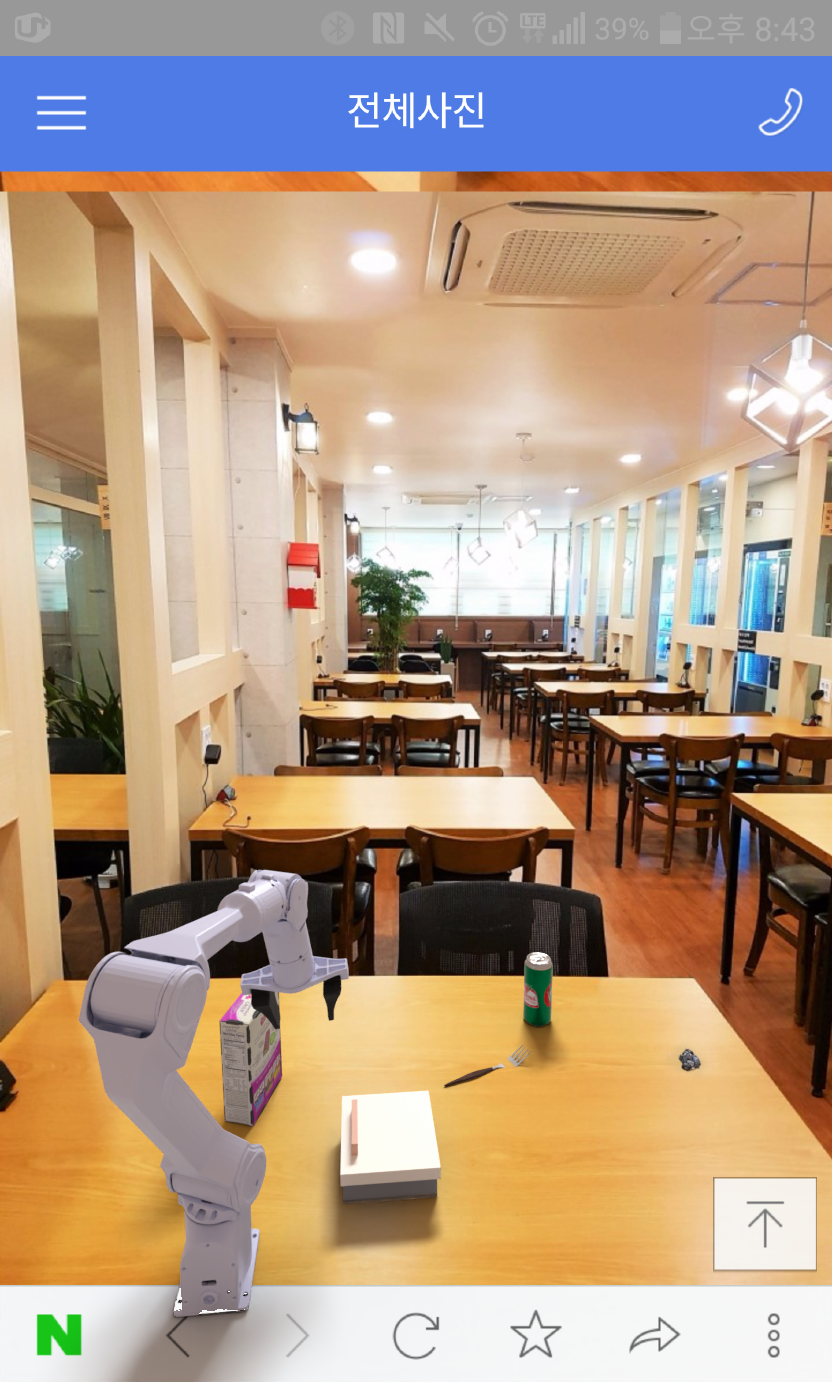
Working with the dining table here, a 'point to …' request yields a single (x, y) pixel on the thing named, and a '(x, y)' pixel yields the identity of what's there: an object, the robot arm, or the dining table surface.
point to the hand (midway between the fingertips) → (304, 1018)
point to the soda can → (538, 989)
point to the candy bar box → (248, 1060)
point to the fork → (484, 1071)
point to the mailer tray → (389, 1191)
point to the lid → (388, 1139)
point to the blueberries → (689, 1060)
